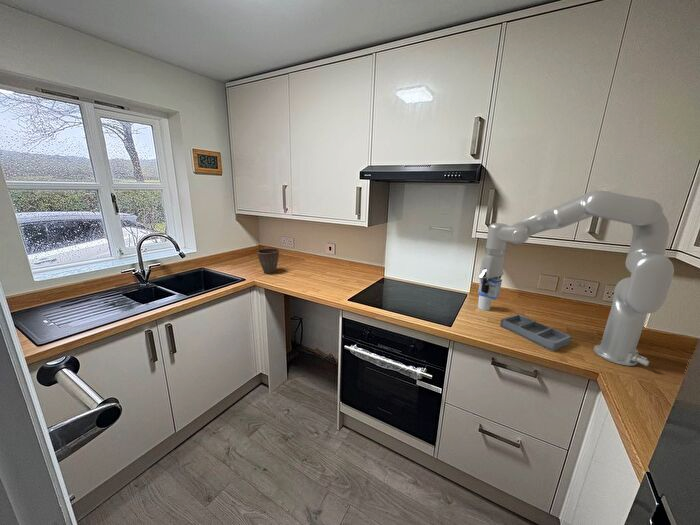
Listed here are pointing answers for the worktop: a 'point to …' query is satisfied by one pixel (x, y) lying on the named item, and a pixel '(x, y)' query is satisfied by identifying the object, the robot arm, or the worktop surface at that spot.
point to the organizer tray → (536, 332)
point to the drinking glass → (484, 303)
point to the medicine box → (491, 288)
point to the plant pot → (268, 259)
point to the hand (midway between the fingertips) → (489, 290)
